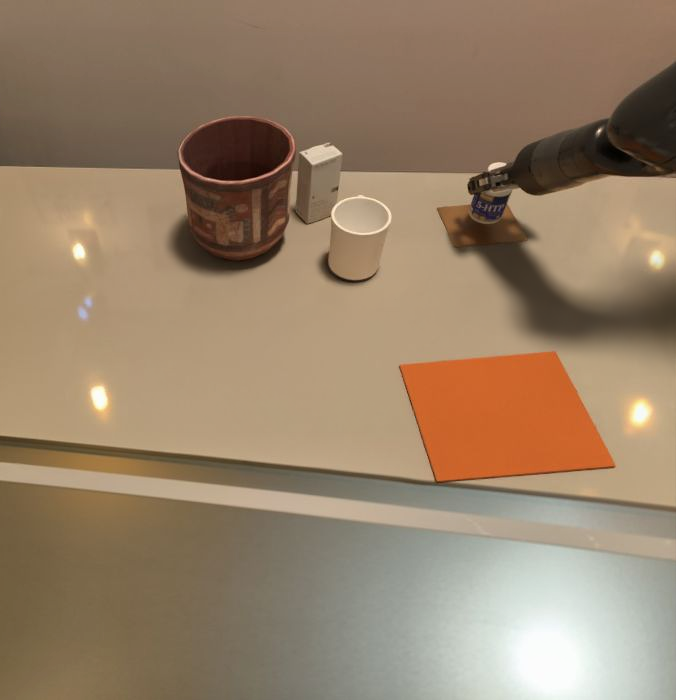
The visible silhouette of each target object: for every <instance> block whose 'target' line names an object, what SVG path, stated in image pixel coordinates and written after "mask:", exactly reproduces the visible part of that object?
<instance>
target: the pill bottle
mask: <svg viewBox="0 0 676 700" xmlns="http://www.w3.org/2000/svg"><path fill="white" fill-rule="evenodd" d="M506 164H507V163H506V162H501V161H500V162H498V161H497V162H493V163H491V164H489V165H488V167H487V170H486V172H490V170H492V169H496V168H499V167H503V166H505V165H506ZM511 185H512V184H511ZM501 186H502V187H504V185H502V184H501ZM506 186H508V185H506ZM512 193H513V190H510V189H507V190H503V191H499V192H493V191H492V190H490V191H486V193H483V192H482V193H478V194H476V195H472V198H471V202H470V204H469V205H470V208H469V215H470V217H471V218H472V219H473V220H475V221H477V222H479V223H483V224H492V223H496V222H498V221H499V220H500V219H501V217H502V215H503V212H504V210H505V207H506V205H507V204H508V202H509V200H510V197H511V195H512Z"/></svg>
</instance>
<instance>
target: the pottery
mask: <svg viewBox="0 0 676 700" xmlns="http://www.w3.org/2000/svg"><path fill="white" fill-rule="evenodd" d="M296 154H297V146H296V139H295V137H294V136H293V135H292V133H291V132H290V131H289V130H288V129H287V128H286V126H283V125H281V124H279V123H277V122H275V121H272V120H271V119H266V118H260V117H258V116H257V117H256V116H252V115H251V116H250V115H249V116H248V115H247V116H228V117H223V118H218V119H214V120H211V121H209V122H206V123H204V124H201V125H199V126H198V127H196V128H195V129H193V130H191V131H190V132H189V133H188V134H187V135H186V136H185V137H184V139H182V141H181V142H180V144H179V146H178V149H177V160H178V165H179V172H180V176H181V179H182V184H183V190H184V195H185V203H186V204H185V205H186V213H187V219H188V224H189V229H190V231H191V234H192V235H193V237H194V238H195V240H196V241H197V243H198V244H199V245H200V246H201V248H202V249H204V250H205V251H207V252H208V253H209V254H212V255H213V256H215V257H218V258H221V259H224V260H227V261H245V260H251V259H253V258H254V259H255V258H256V257H258V256H260V255H263V254H265V253H267V252H268V251H269V250H270V249H271V248H273V247H274V246H275V245H276V244H277V243H278V242H279V241H280V240H281V239H282V237H283V235H284V233H285V231H286V229H287V227H288V224H289V221H290V215H291V186H292V178H293V171H294V167H295V166H294V165H295V162H296Z"/></svg>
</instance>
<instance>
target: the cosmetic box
mask: <svg viewBox="0 0 676 700" xmlns="http://www.w3.org/2000/svg"><path fill="white" fill-rule="evenodd" d="M343 156H344V155H343V152H341V150H339V149H338V148H336V147H335V146H334V145H333V144H332V143H331V142H326V143H323V144H320V145H315V146H312V147H310V148H308V149H304V150H302V151H299V154H298V164H297V165H298V166H297V180H296V181H297V182H296V196H295V198H296V199H295V213H296V214H297V215H298V216H299V217H300V219H302V221H303V222H304V223H305V224H311V223H315V222H318V221H320V220H323V219H326V218H329V217H331V213H332V209H333V208H334V206H335V205H336V204H337V203H338V196H339V186H340V180H341V171H342V163H343Z"/></svg>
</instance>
